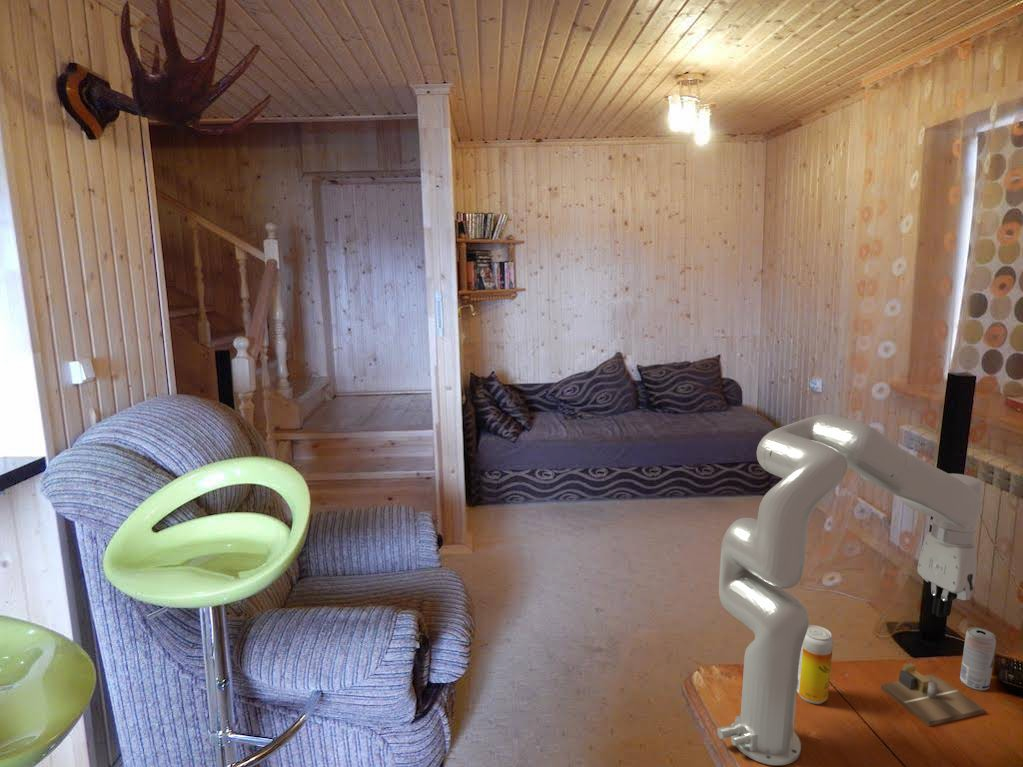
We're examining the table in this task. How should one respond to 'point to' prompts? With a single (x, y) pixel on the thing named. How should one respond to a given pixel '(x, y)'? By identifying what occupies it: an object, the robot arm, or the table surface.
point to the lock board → (931, 700)
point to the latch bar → (917, 677)
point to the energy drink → (978, 658)
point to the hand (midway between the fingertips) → (940, 614)
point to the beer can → (815, 665)
